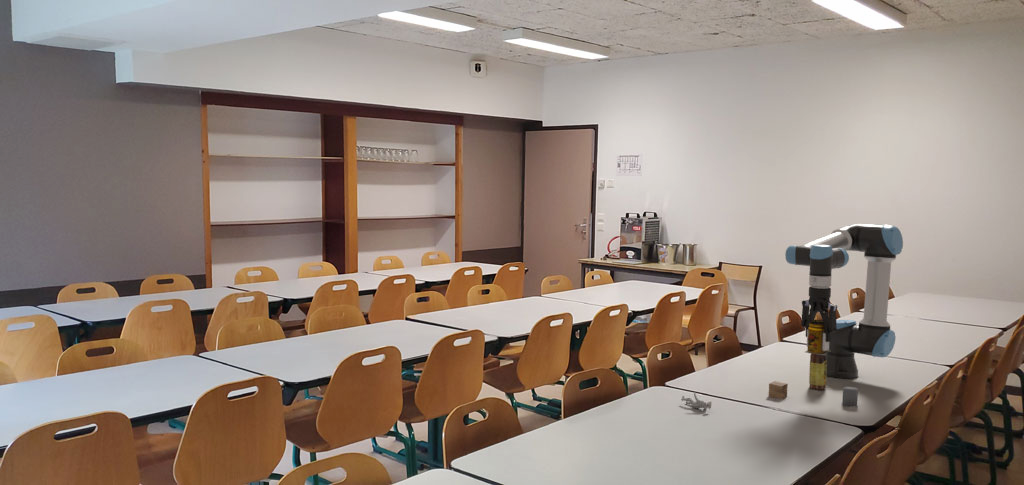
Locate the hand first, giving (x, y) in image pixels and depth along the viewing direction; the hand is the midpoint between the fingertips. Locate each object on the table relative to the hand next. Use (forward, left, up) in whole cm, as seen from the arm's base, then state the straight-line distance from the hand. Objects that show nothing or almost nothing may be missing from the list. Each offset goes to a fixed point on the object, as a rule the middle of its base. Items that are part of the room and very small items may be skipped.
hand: (817, 348), depth 272 cm
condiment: (0, 0, -2) cm, 2 cm away
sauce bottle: (-16, -11, -20) cm, 28 cm away
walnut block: (+7, -11, -20) cm, 24 cm away
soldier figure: (+46, -15, -21) cm, 52 cm away
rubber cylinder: (-8, +9, -20) cm, 23 cm away
